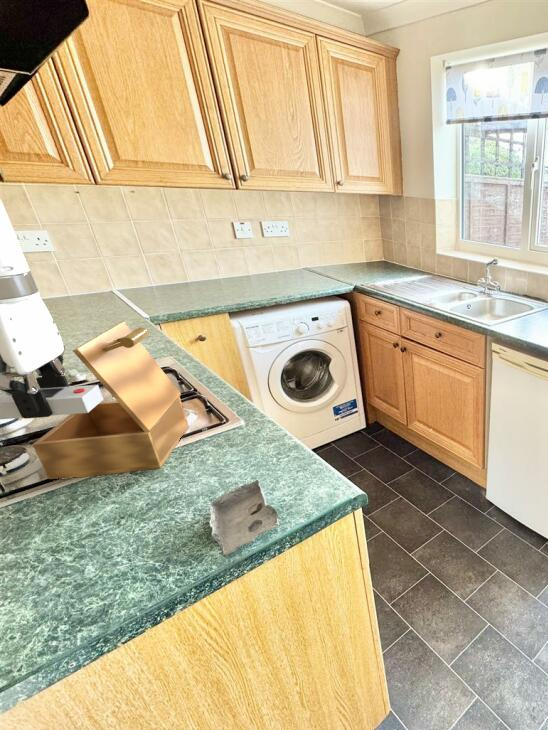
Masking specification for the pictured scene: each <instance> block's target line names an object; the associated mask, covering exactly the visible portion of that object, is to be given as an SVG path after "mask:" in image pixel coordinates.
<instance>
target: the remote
mask: <svg viewBox="0 0 548 730" xmlns="http://www.w3.org/2000/svg"><path fill="white" fill-rule="evenodd" d="M37 391H43V393H44V395H45V397H46V400H47V402H48V404H49V406H50V408H51V411H52V413H53V414H52V415H51V416H50V417H52V416H64V415H70V414H78V413H88V412H90V411H91V410H92V409H93V408H94V407H95V406H97V405H98V404H99V403H101V402H103V401H104V400H105V399H104V397H103V394H102V391H101V388H100V386H99V384H90V385H74V386H73V385H72V386H69V387H55V388H40V387H39V388H38V387H37ZM10 419H11V420H12V419H24V418H23V417H22V416H21V414H20V412H19V410H18V408H17V406H16V404H15V402H14V400H13V398H12V396H11V395H7V394H6V392H4V391H2V392H1V393H0V420H10Z"/></svg>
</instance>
